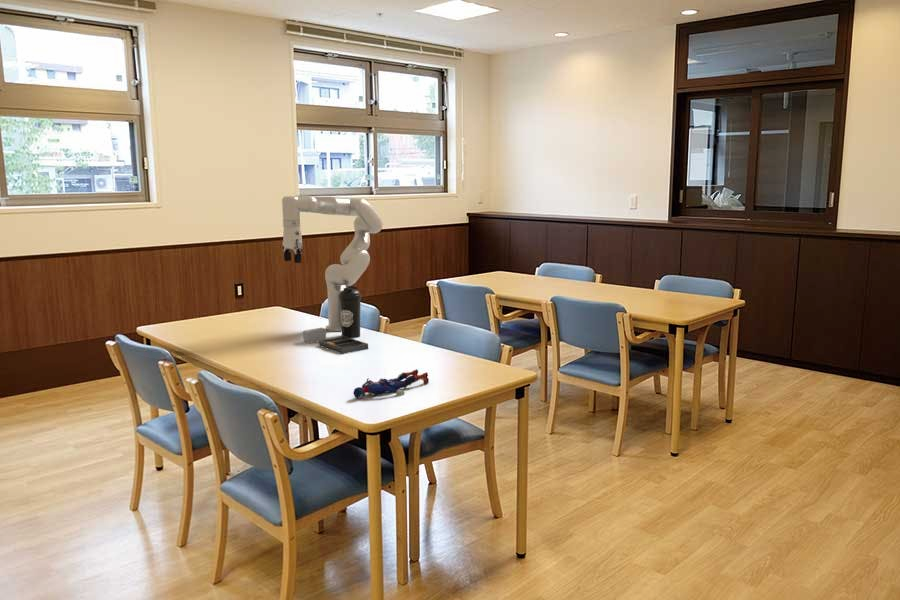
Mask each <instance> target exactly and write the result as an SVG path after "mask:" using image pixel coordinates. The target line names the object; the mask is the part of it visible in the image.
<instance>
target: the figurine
mask: <svg viewBox="0 0 900 600" xmlns="http://www.w3.org/2000/svg"><path fill="white" fill-rule="evenodd" d="M429 380H430V379H429V374H428V372H423V373H422V374H419V369H414V370H413V371H407V372H401V373H399V374H398V376H397V377H395V378H388V379H387V378H380V379H379V380H378V381H373V380H371V379H370V378H369V377H368V378H367V379H366V381H365V382H364V383H363V384H362V385H361V386H360V387H355V388H354V389H353V396H354V397H355V398H356V399H361V398H363V397H364V396H366V394H369V395H370V396H373V397H376V395H377V396H378V395H379V394H383V393H386V392H391V393H394V394H396V395H397V396H403V395H405V394H406V393H405V390H402V389H403V388H404V389H406V388H407V387H408V386H411V385H412V384H414V383H415V382H418V381H423V384H424V383H425V384H424V385H427V384H426V383H428V384H429V382H430V381H429ZM400 389H401V390H400Z"/></svg>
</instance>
